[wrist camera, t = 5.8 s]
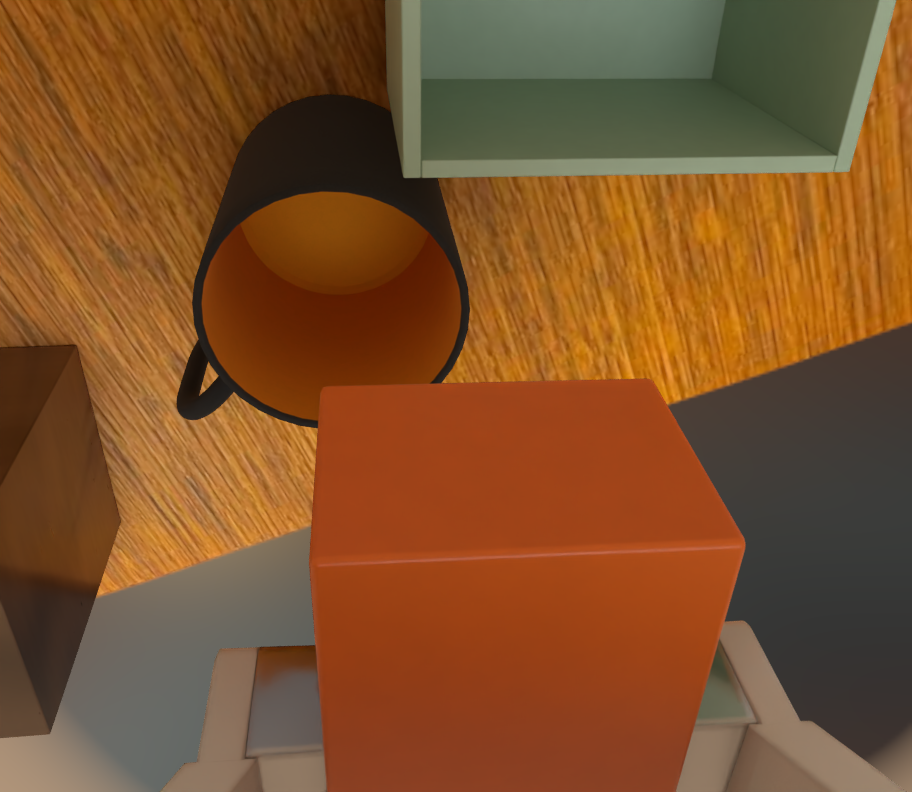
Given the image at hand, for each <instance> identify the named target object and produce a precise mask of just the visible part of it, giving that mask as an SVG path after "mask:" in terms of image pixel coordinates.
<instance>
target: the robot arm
mask: <svg viewBox="0 0 912 792" xmlns="http://www.w3.org/2000/svg"><path fill="white" fill-rule="evenodd" d="M160 792H327V787H326V774H325V761H324V748H323V735H322V723H321V710H320V697H319V684H318V671H317V658H316V646H315V645H310V646H277V647H257V648H231V649H220V650H219V652H218V654H217V656H216V659H215V662H214V668H213V673H212V679H211V685H210V690H209V697H208V702H207V707H206V713H205V719H204V724H203V730H202V736H201V741H200V747H199V752H198V758H197V762H193V763H184V765H183V766H182V767H181V768H180V769H179V771H177V773H176V774H175V775H174V776H173V777H172V779H170V781H169V782H168V783H167V784H166V785H165V786H164V787H163V789H162V790H161V791H160ZM676 792H907V791H905V790H904V789H902V788H901V787H900V786H898V785H897V784H896V783H894V782H893V781H892V780H890V779H889V778H887V777H886V776H885V775H883V774H882V773H881V772H880V771H878V770H877V769H876V768H874V767H873V766H871V765H870V764H869V763H867V762H866V761H865V760H863V759H862V758H861V757H859V756H858V755H857V754H855V753H854V752H853V751H851V750H850V749H849V748H847V747H846V746H845V745H843V744H842V743H840V742H839V741H837V740H836V739H835V738H834V737H832V736H831V735H829V734H828V733H827V732H826V731H824V730H823V729H822V728H820V727H819V726H817V725H816V724H815V723H814V722H812V721H800V720H799V718H798V716H797V714H796V712H795V710H794V708H793V706H792V704H791V703H790V701H789V699H788V697H787V695H786V693H785V691H784V689H783V688H782V686H781V684H780V682H779V680H778V678H777V676H776V674H775V672H774V670H773V669H772V667H771V665H770V663H769V661H768V659H767V657H766V655H765V654H764V652H763V650H762V648H761V646H760V644H759V642H758V640H757V638H756V636H755V635H754V633H753V631H752V629H751V627H750V626H749V625H748V624H747V623H745V622H744V621H731V622H724V624H723V628H722V631H721V635H720V638H719V642H718V645H717V649H716V652H715V656H714V659H713V663H712V666H711V670H710V673H709V677H708V680H707V684H706V687H705V691H704V694H703V698H702V701H701V705H700V708H699V712H698V715H697V719H696V722H695V726H694V729H693V733H692V736H691V740H690V743H689V747H688V750H687V754H686V757H685V761H684V764H683V768H682V771H681V775H680V778H679V782H678V785H677V789H676Z"/></svg>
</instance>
